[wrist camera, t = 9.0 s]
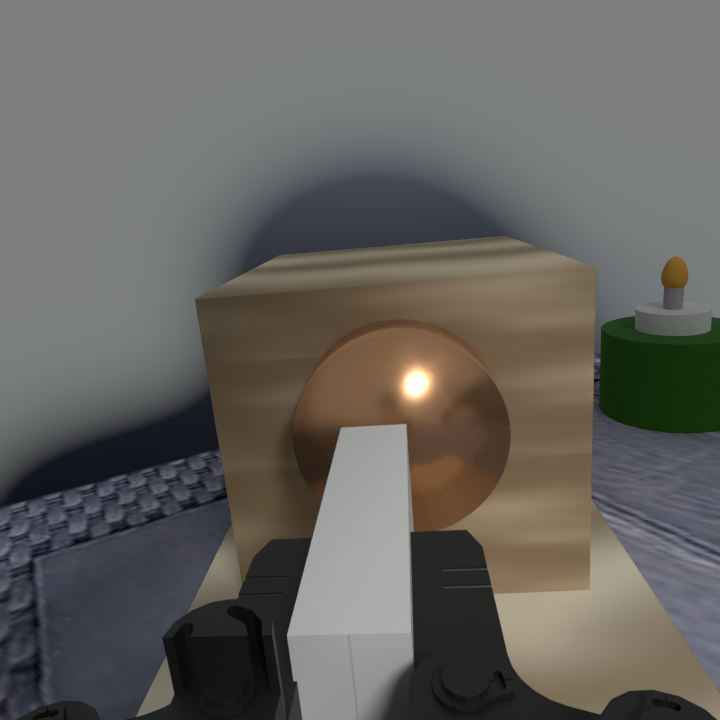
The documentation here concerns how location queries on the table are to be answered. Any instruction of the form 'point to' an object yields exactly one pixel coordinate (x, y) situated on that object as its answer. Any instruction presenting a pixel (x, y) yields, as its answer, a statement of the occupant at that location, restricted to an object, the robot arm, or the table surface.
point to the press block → (522, 471)
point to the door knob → (409, 414)
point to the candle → (663, 363)
